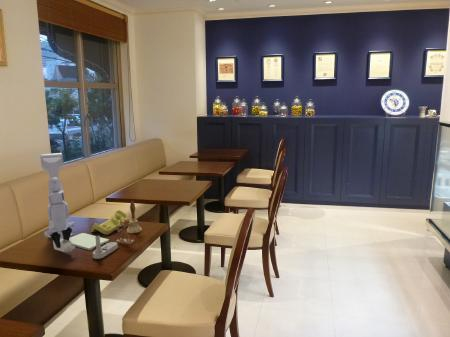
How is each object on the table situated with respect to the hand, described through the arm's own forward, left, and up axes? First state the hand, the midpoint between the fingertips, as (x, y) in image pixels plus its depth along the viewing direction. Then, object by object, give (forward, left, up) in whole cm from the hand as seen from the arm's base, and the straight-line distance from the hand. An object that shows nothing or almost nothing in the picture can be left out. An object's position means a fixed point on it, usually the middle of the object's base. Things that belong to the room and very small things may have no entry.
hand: (62, 245), depth 172 cm
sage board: (-2, +14, -4) cm, 15 cm away
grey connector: (+1, 0, -2) cm, 2 cm away
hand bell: (+8, +37, -4) cm, 38 cm away
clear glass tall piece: (+16, +23, -4) cm, 28 cm away
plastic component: (-6, +34, -4) cm, 34 cm away
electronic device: (+17, +10, -4) cm, 20 cm away
